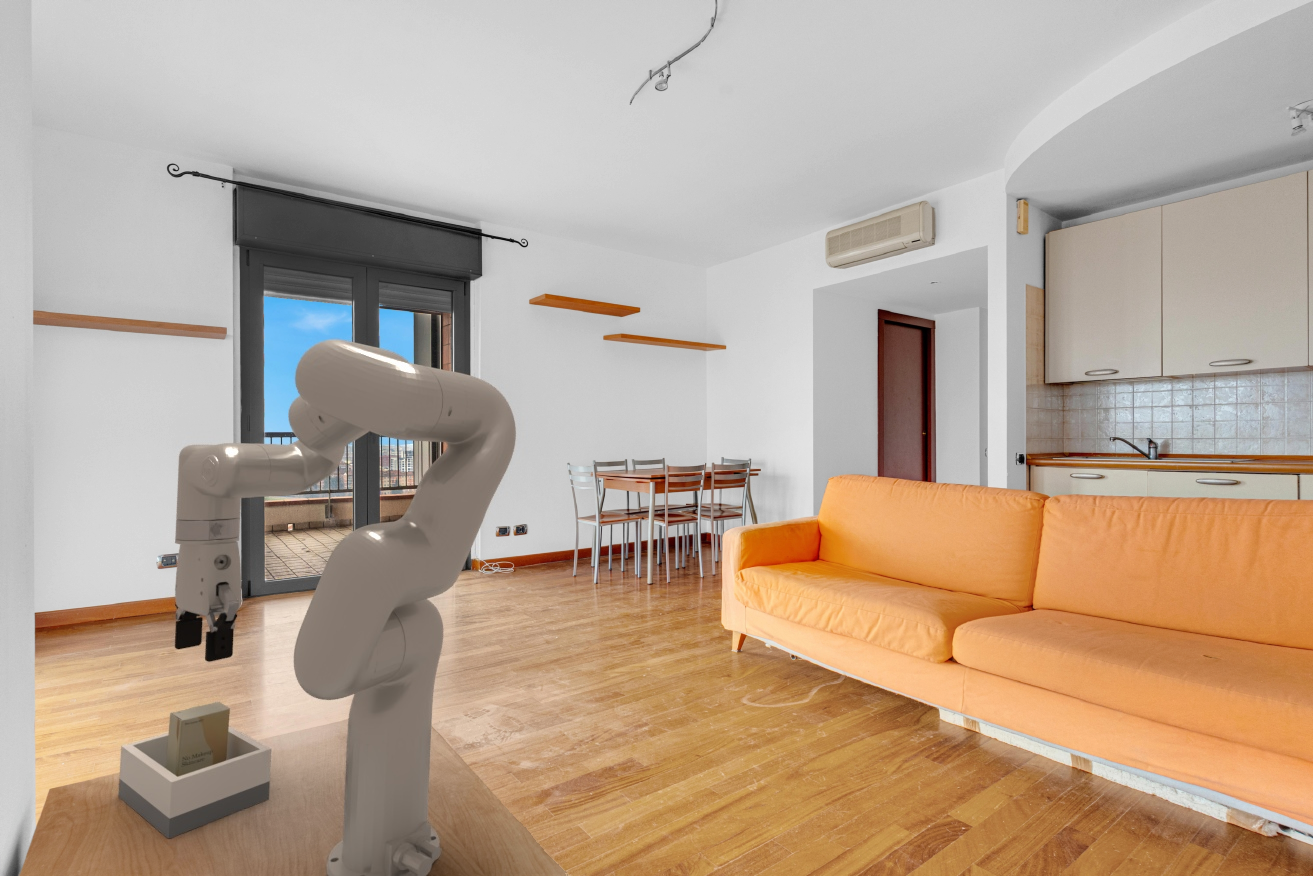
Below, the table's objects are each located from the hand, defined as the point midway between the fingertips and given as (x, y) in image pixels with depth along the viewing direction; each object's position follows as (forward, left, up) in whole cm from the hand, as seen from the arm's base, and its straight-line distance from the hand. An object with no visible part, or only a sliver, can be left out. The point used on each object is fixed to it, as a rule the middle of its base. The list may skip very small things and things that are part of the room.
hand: (203, 653), depth 92 cm
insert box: (0, 0, -20) cm, 20 cm away
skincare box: (0, 0, -20) cm, 20 cm away
